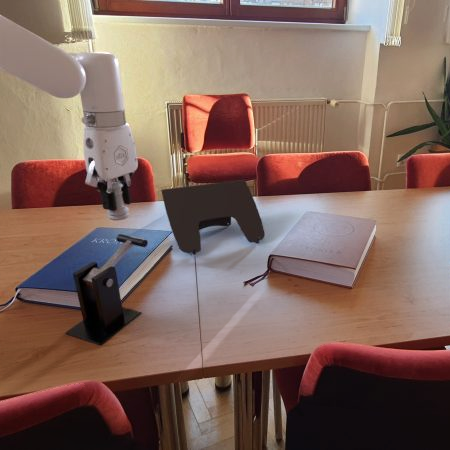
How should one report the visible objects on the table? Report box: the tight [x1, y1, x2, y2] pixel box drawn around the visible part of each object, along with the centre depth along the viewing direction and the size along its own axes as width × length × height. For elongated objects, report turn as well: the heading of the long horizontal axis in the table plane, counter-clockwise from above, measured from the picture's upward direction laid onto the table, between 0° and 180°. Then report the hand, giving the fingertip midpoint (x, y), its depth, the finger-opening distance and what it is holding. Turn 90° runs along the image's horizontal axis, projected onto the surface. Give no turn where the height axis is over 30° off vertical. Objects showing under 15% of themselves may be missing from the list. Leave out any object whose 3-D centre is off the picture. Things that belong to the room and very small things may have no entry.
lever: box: [83, 233, 149, 290], centre depth 79 cm, size 12×6×2 cm, turn 159°
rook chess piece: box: [107, 179, 131, 221], centre depth 94 cm, size 4×4×8 cm
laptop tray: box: [160, 179, 266, 258], centre depth 115 cm, size 23×23×9 cm
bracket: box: [64, 261, 143, 347], centre depth 77 cm, size 10×8×12 cm
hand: (117, 205), depth 94 cm, fingers closed on rook chess piece, 3 cm apart
